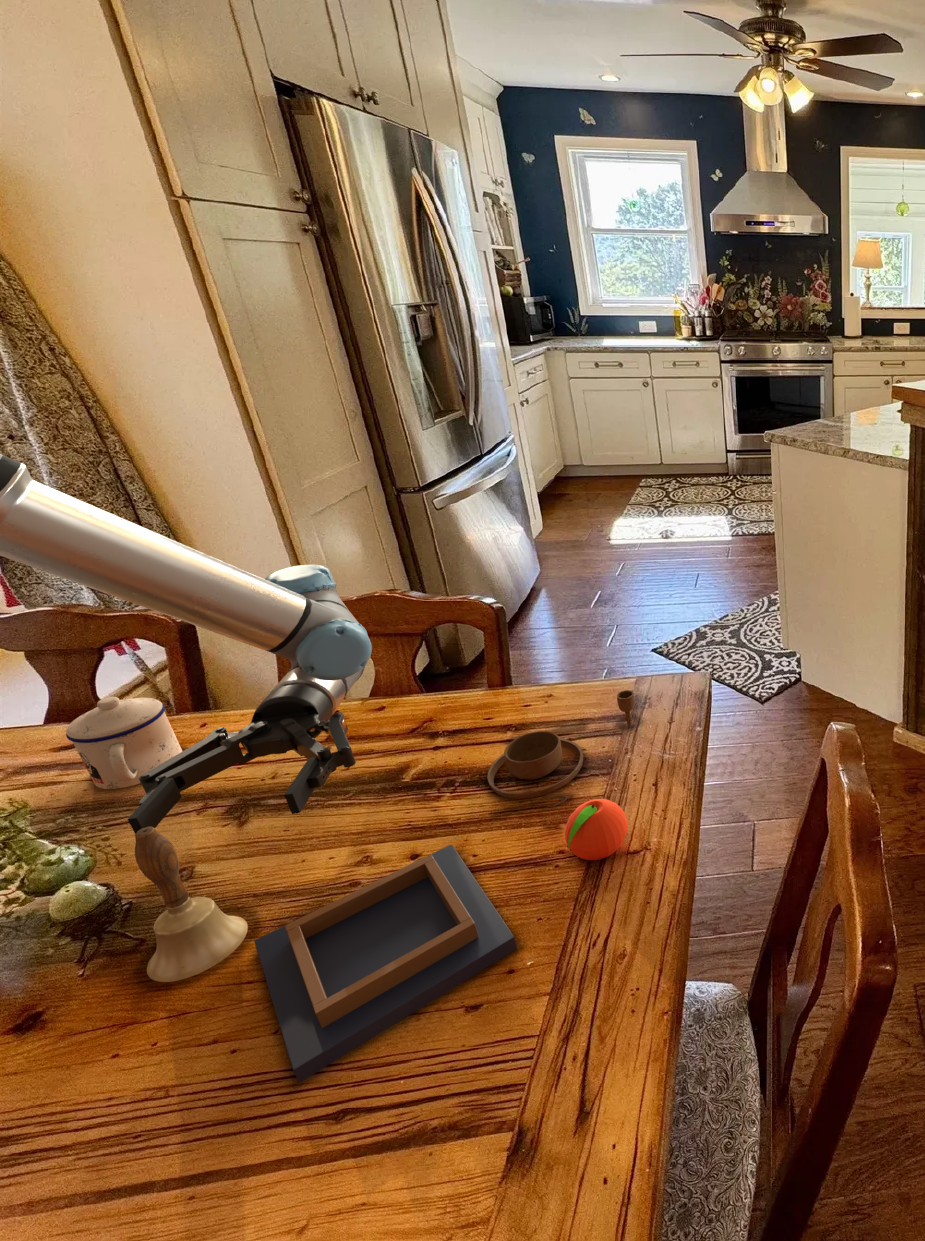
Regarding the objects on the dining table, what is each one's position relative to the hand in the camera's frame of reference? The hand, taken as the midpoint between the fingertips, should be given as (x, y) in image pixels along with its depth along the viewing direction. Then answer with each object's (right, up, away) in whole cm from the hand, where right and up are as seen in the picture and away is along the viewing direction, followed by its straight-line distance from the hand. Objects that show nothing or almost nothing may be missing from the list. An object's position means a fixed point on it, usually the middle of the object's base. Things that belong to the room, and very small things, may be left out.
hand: (216, 816), depth 76 cm
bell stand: (+21, -13, -4) cm, 25 cm away
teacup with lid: (-28, -2, +19) cm, 34 cm away
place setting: (+27, -1, +24) cm, 36 cm away
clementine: (+37, -8, +9) cm, 39 cm away
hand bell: (+2, -13, -4) cm, 14 cm away
